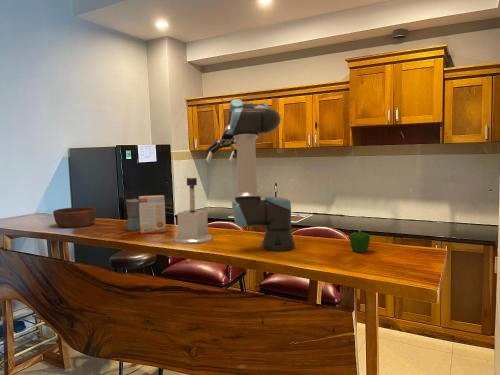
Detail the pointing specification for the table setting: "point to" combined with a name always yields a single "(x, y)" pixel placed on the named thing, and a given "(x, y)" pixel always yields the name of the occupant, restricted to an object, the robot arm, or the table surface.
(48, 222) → the table surface
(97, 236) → the table surface
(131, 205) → the moka pot
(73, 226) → the wooden bowl
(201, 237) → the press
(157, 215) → the cracker box
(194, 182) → the plunger
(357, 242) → the bell pepper
